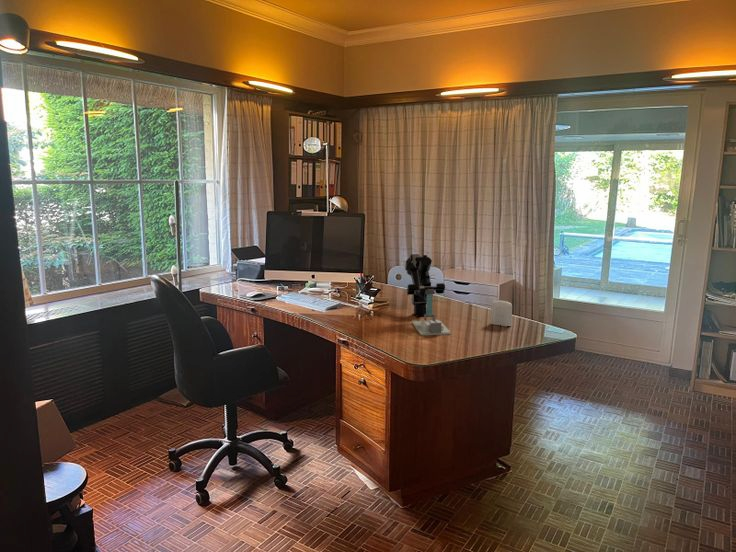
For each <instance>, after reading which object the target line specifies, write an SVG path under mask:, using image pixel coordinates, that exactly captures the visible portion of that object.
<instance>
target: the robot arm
mask: <svg viewBox="0 0 736 552" xmlns="http://www.w3.org/2000/svg"><path fill="white" fill-rule="evenodd" d="M432 262H433V261H432V259H431V257H429V256H428V255H426V254H423V255H422V256H421V255H420V254H419V253H415V254H412V253H411V254H410V255H409V257H408V258H407V259H406V260H405V265H404V269H405V271H406V274H407V275H409V276H410V278H411V280H412V281H411V282H412V283H411V284H408V285H407V287H406V295H407V296H410V295H412V297H411V304H412V305H413V313H411V315H412V316H414V317H419V318H420V317H424V314H426V315H427V294H425V290H426V289H434V293H436V294H437V295H440V294H441V295H442V294H444V293H445V289H446V285H445V283H443V282H442V283H441V282H439V283H436V285H432V282H431V276H430V273H429V271H430V270H431V266H432Z"/></svg>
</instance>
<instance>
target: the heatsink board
mask: <svg viewBox="0 0 736 552" xmlns="http://www.w3.org/2000/svg"><path fill="white" fill-rule="evenodd" d="M426 314H427V313H426ZM426 314H424V316H423V320H416V321H415V320H413V321H412V325H413V326H414V327H415V329H416V331H417V332H418V333H419V335H420V336H421V335H422V336H441V335H443V336H444V335H445V336H446V335H452V334H451V333H452V332H451V331H450V330H449V329H448V328H447V326H446V325H445V324H444V323H443V321H441V320H440V319H436V314H435V313H433V317H432V319H428V320H427V317H426V316H427V315H426Z"/></svg>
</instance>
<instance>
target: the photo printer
mask: <svg viewBox="0 0 736 552" xmlns="http://www.w3.org/2000/svg"><path fill="white" fill-rule="evenodd" d="M490 313H491V314H490V324H491V325H494V326H495V325H496V326H500V325H501V327H507V326H511V327H512V321H513V320H512V319H513V318H512V317H513V304H512V303H511V302H509V301H506V300H493V301H492V302H491V312H490Z"/></svg>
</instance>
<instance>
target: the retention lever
mask: <svg viewBox="0 0 736 552" xmlns="http://www.w3.org/2000/svg"><path fill="white" fill-rule="evenodd" d="M425 294H427V304H426V314H427V316H426V318H433V314H434V313H433V312H434V311H433V310H434V308H433V307H434V306H433V303H434V300H433V298H434V296H433V295H435V290H434V289H426V290H425Z"/></svg>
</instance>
